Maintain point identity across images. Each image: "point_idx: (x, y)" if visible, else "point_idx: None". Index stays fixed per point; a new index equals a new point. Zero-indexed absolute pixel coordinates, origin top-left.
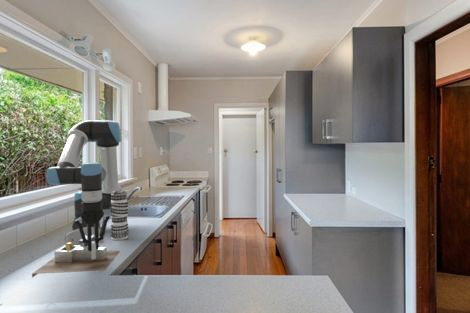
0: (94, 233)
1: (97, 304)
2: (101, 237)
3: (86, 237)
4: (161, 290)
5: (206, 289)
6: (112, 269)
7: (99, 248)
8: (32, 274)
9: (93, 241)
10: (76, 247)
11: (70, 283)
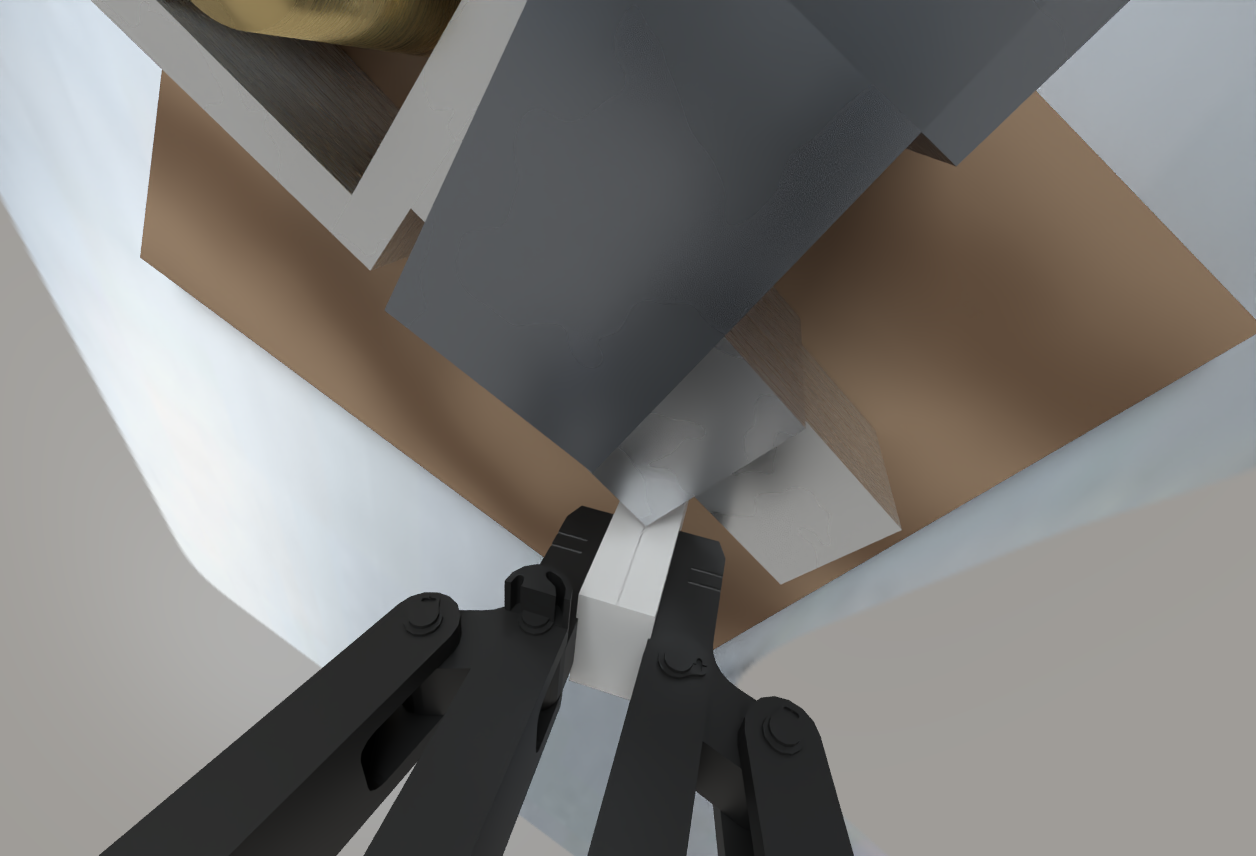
0: (592, 844)
1: (540, 812)
2: (737, 829)
3: (598, 111)
4: None
5: None
6: (771, 635)
7: (776, 498)
8: (151, 258)
9: (633, 616)
10: (453, 68)
11: (455, 586)
